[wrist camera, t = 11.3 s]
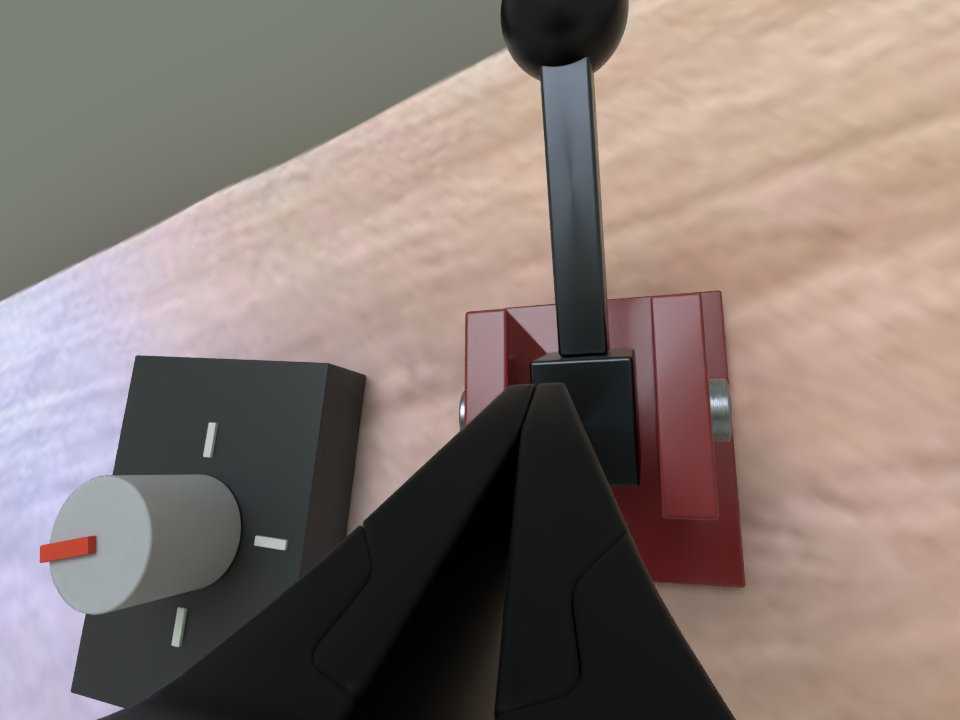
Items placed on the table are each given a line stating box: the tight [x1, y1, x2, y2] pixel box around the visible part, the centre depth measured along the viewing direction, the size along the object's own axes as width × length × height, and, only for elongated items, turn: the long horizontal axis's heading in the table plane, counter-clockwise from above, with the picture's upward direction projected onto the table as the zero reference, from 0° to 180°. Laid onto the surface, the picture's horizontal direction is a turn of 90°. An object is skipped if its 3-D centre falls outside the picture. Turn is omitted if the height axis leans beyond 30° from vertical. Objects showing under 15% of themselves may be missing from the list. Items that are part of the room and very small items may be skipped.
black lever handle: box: [501, 0, 641, 487], centre depth 13 cm, size 12×3×3 cm, turn 0°
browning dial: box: [40, 474, 241, 615], centre depth 20 cm, size 4×4×4 cm
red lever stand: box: [459, 291, 745, 587], centre depth 16 cm, size 10×8×10 cm
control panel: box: [71, 355, 365, 708], centre depth 24 cm, size 14×10×3 cm
